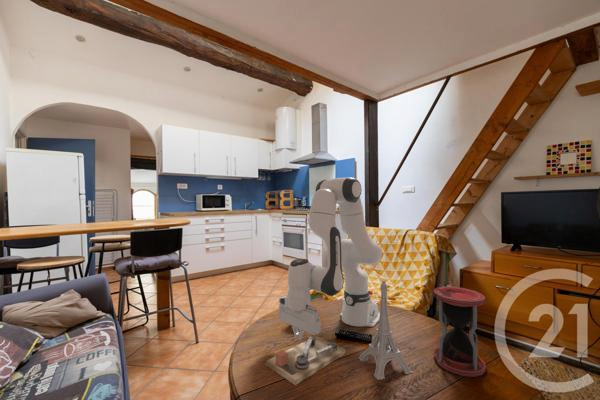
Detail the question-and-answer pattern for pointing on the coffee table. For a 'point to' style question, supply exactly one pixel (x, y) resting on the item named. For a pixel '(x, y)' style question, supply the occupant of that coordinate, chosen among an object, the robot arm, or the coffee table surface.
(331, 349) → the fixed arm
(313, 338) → the tong arm
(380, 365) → the eiffel tower
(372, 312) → the robot arm
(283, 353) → the salmon pink block
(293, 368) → the board
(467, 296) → the hourglass
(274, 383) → the coffee table surface
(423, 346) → the coffee table surface
